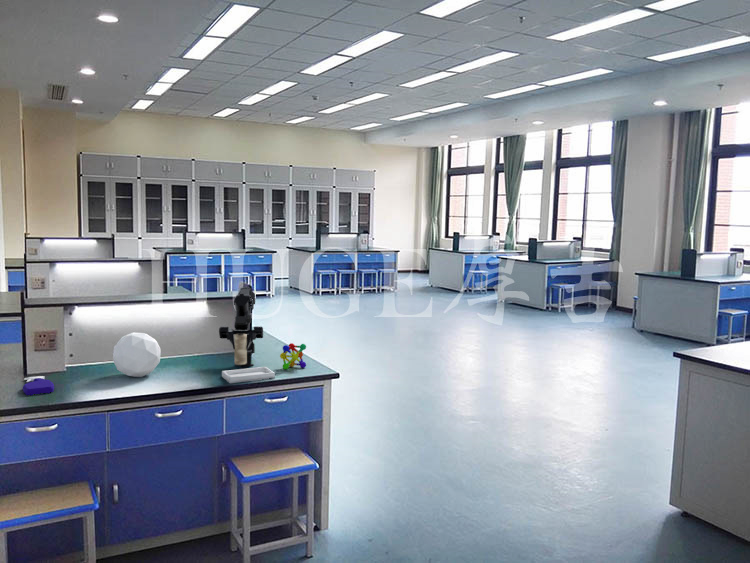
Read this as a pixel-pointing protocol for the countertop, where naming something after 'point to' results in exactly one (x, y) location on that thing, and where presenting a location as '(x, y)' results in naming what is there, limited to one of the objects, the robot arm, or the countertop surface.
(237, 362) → the maple post
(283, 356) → the molecular model
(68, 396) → the countertop surface
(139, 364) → the geometric polyhedron
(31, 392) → the spray bottle
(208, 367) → the countertop surface
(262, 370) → the grey tray
